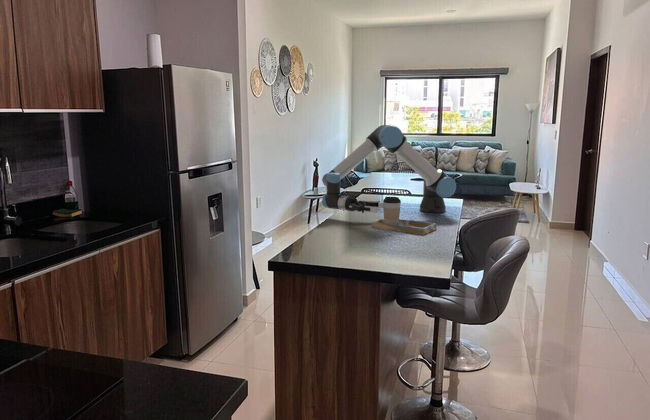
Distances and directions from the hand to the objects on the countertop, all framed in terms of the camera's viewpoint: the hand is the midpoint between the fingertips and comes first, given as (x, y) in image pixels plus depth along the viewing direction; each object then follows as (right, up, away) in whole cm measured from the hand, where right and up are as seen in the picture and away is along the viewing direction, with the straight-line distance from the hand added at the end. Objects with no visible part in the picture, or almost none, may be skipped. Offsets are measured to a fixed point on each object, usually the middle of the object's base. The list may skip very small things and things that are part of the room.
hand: (383, 208), depth 246 cm
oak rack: (+10, -10, -5) cm, 15 cm away
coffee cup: (+4, -9, -1) cm, 10 cm away
